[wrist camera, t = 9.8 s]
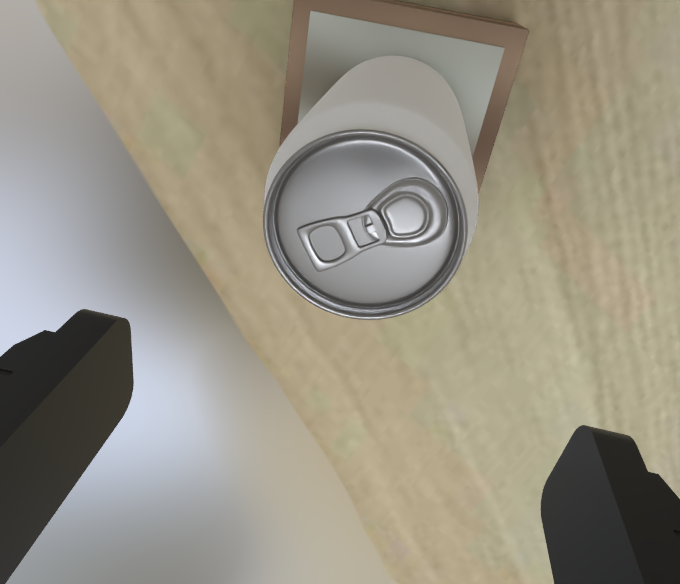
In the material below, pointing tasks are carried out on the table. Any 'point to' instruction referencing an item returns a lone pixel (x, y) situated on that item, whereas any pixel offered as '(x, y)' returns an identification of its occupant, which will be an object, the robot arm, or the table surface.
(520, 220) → the table surface
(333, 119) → the can
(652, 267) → the table surface
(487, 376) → the table surface
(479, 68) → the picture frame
